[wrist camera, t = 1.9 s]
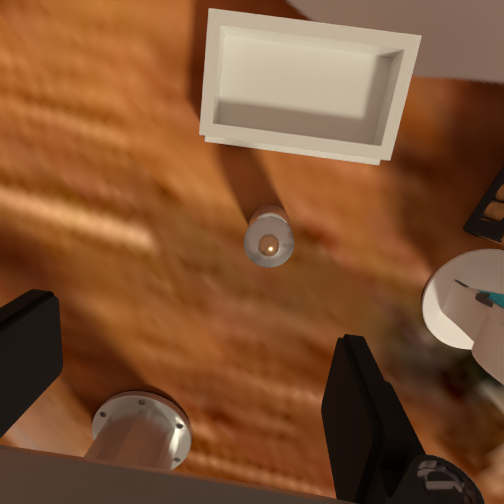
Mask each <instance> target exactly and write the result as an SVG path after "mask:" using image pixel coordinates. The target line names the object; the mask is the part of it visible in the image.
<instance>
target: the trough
mask: <svg viewBox="0 0 504 504" xmlns="http://www.w3.org/2000/svg"><path fill="white" fill-rule="evenodd" d="M421 37H422V36H420V35H413V34H405V33H397V32H390V31H382V30H374V29H366V28H359V27H351V26H344V25H336V24H328V23H321V22H313V21H305V20H298V19H290V18H282V17H274V16H267V15H259V14H251V13H244V12H236V11H228V10H221V9H213V8H209V11H208V24H207V38H206V51H205V64H204V78H203V91H202V105H201V118H200V131H199V135H204V136H205V142H213V143H220V144H227V145H235V146H242V147H249V148H257V149H264V150H271V151H278V152H286V153H293V154H300V155H308V156H315V157H322V158H330V159H337V160H344V161H352V162H359V163H366V164H374V165H379V164H380V160H391V156H392V152H393V148H394V144H395V140H396V136H397V132H398V128H399V124H400V120H401V116H402V112H403V108H404V104H405V100H406V96H407V92H408V88H409V84H410V80H411V76H412V72H413V68H414V64H415V60H416V57H417V53H418V49H419V44H420V41H421Z"/></svg>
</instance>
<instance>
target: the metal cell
mask: <svg viewBox="0 0 504 504" xmlns="http://www.w3.org/2000/svg"><path fill="white" fill-rule="evenodd" d="M244 249H245V252H246V254H247V256H248V257H249V258H250V260H251V261H253V262H254V263H255V264H257V265H259V266H262V267H276V266H279V265H281V264H283V263H284V262H286V261H287V260H288V259H289V257H290V256H291V254H292V252H293V249H294V238H293V233H292V229H291V225H290V221H289V217H288V215H287V213H286V212H285V211H284V210H283V209H282V208H281V207H279V206H277V205H274V204H266V205H262V206H260V207H258V208H257V209H256V210H255V211H254V212H253V214H252V216H251V218H250V221H249V225H248V228H247V231H246V234H245V238H244Z"/></svg>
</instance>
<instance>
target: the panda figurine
mask: <svg viewBox="0 0 504 504" xmlns="http://www.w3.org/2000/svg"><path fill="white" fill-rule="evenodd" d="M422 315H423V319H424V321H425V324H426V325H427V327H428V329H429V330H430V331H431V332H432V334H433V335H434V336H435V337H437V338H438V339H439V340H440V341H442V342H444V343H446V344H448V345H450V346H453V347H456V348H461V349H472V354H473V356H474V358H475V359H476V361H477V362H478V363H479V364H480V365H481V366H482V367H483V368H484V369H485V370H486V371H487V372H488V373H489V374H490V375H492V376H493V377H494V378H495V379H497V380H498V381H499V382H501V383H502V384H503V385H504V250H500V249H490V248H487V249H477V250H473V251H469V252H466V253H463V254H461V255H459V256H457V257H455V258H453V259H451V260H450V261H448V262H447V263H445V264H444V265H443V266H442V267H441V268H439V269H438V270H437V272H436V273H435V274H434V275H433V276H432V278H431V279H430V281H429V282H428V284H427V286H426V288H425V291H424V294H423V297H422Z"/></svg>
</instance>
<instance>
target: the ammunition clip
mask: <svg viewBox="0 0 504 504" xmlns="http://www.w3.org/2000/svg"><path fill="white" fill-rule="evenodd" d="M463 230H464V231H466V232H468V233H471V234H473V235H475V236H477V237H480V238H483V239H486V240H489V241H492V242H495V243H498V244H500V245H502V246H504V166H503V168H502V169H501V171H500V172H499V174H498V175H497V177H496V178H495V180H494V181H493V183H492V184H491V186H490V187H489V189H488V190H487V192H486V193H485V195H484V196H483V198H482V199H481V201H480V203H479V204H478V206H477V207H476V209H475V210H474V212H473V213H472V215H471V216H470V218H469V219H468V221H467V222H466V224H465V225H464V227H463Z"/></svg>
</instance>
